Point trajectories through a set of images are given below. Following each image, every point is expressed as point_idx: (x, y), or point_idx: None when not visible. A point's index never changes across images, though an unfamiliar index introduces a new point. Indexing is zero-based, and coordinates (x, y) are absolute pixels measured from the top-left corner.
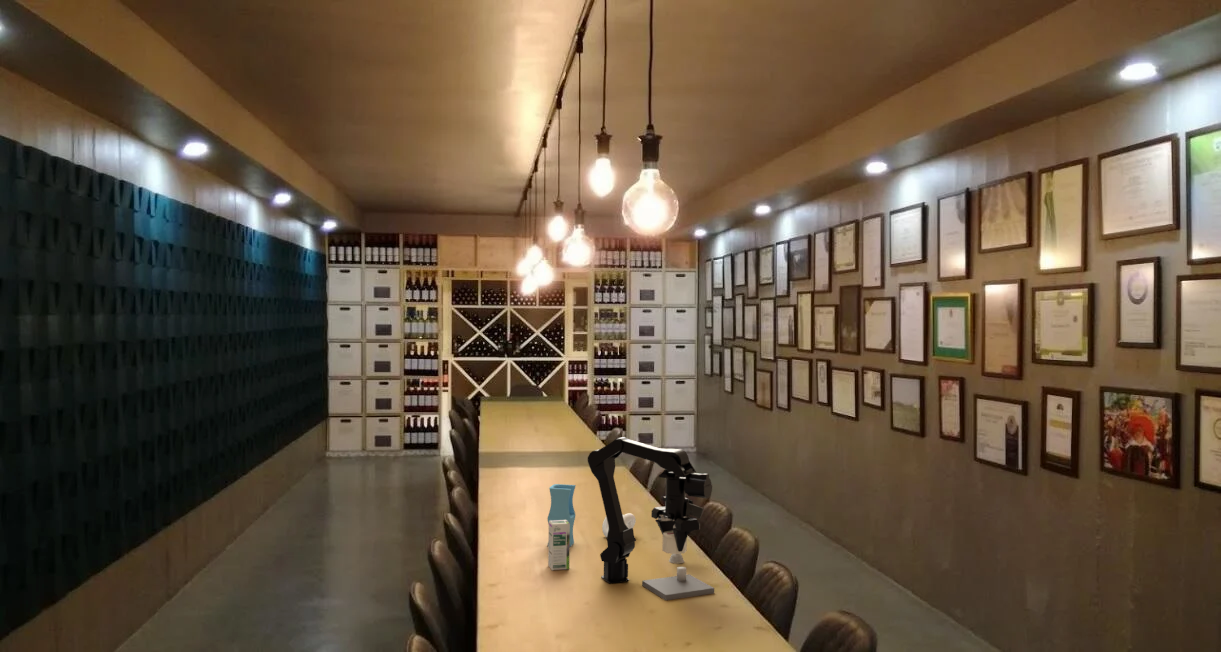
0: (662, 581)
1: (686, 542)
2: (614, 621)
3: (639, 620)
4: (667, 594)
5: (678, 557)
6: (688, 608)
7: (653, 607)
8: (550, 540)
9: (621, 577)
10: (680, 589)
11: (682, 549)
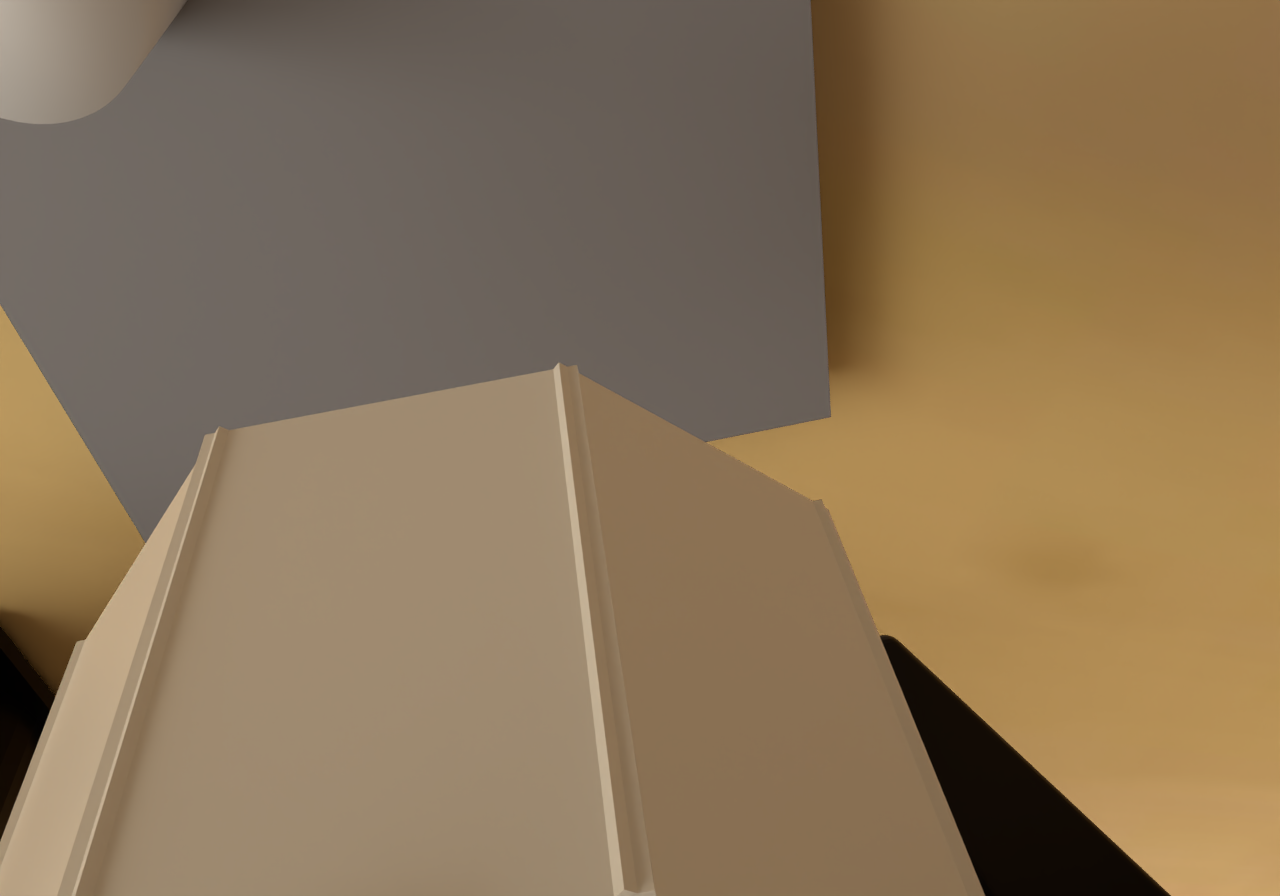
0: (196, 307)
1: (625, 617)
2: (1110, 814)
3: (1199, 683)
4: (819, 389)
5: None
6: (1200, 187)
7: (968, 534)
8: None
9: (3, 726)
10: (666, 148)
11: (926, 671)
